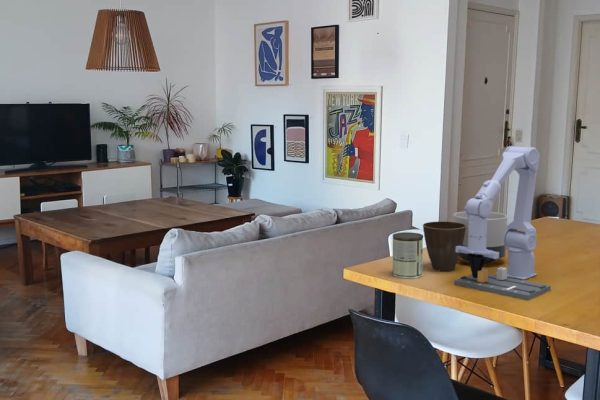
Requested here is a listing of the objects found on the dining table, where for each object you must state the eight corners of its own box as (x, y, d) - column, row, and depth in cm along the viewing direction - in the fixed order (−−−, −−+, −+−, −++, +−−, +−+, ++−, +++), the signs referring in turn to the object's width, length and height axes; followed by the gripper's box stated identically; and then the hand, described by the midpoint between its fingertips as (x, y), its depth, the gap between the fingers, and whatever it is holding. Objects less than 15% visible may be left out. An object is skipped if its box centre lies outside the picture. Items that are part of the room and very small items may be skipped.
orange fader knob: (482, 279, 204) (482, 269, 203) (487, 281, 202) (488, 270, 202) (477, 281, 201) (477, 270, 201) (483, 282, 200) (483, 271, 200)
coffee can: (389, 271, 223) (390, 232, 221) (418, 271, 223) (419, 231, 221) (395, 279, 212) (395, 238, 211) (425, 278, 213) (426, 237, 211)
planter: (508, 268, 225) (510, 219, 223) (453, 266, 229) (454, 218, 227) (502, 256, 244) (504, 211, 242) (451, 254, 248) (452, 210, 246)
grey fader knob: (501, 277, 206) (501, 266, 206) (506, 278, 205) (507, 267, 204) (496, 279, 204) (496, 268, 204) (502, 280, 203) (502, 269, 202)
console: (478, 276, 215) (479, 270, 215) (550, 290, 197) (550, 284, 197) (454, 284, 205) (454, 278, 205) (527, 300, 187) (528, 293, 187)
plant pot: (458, 276, 216) (459, 230, 214) (416, 271, 223) (417, 226, 221) (469, 266, 229) (470, 223, 227) (429, 262, 236) (430, 220, 234)
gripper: (450, 234, 204) (449, 275, 206) (491, 240, 194) (490, 283, 195) (462, 231, 209) (461, 271, 211) (503, 237, 198) (501, 279, 200)
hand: (476, 277), depth 203 cm, fingers closed
